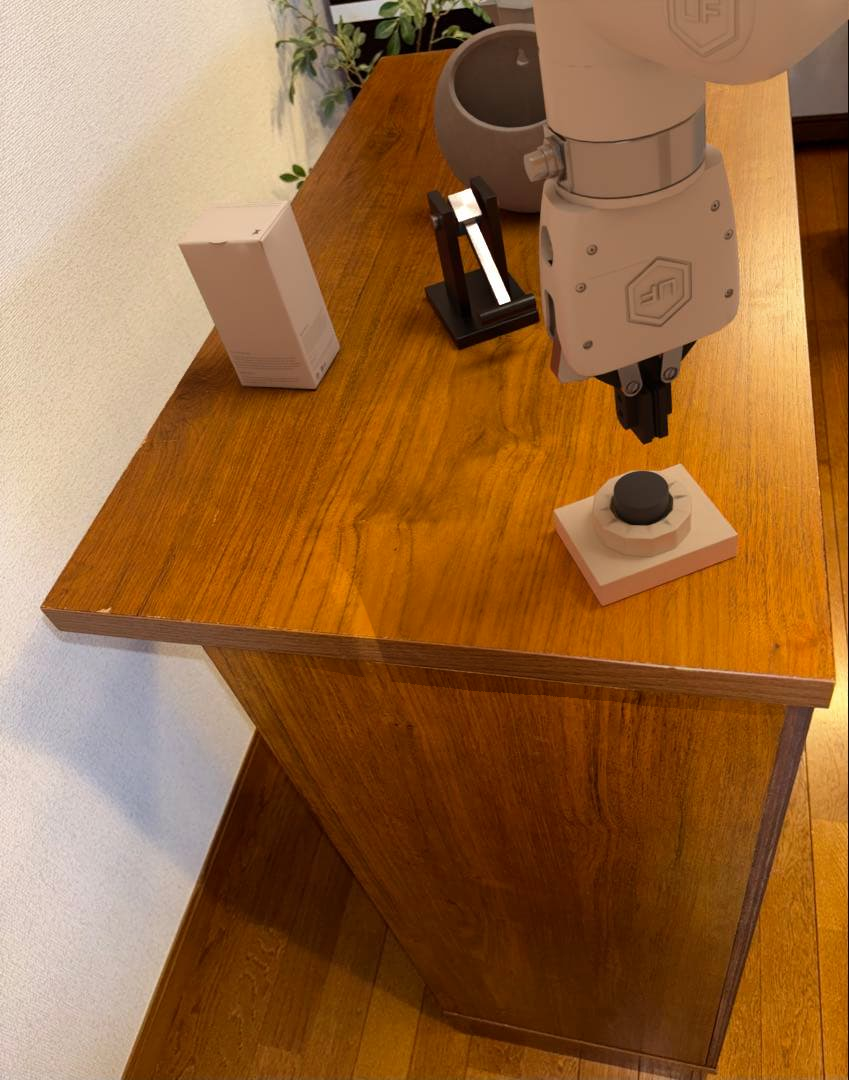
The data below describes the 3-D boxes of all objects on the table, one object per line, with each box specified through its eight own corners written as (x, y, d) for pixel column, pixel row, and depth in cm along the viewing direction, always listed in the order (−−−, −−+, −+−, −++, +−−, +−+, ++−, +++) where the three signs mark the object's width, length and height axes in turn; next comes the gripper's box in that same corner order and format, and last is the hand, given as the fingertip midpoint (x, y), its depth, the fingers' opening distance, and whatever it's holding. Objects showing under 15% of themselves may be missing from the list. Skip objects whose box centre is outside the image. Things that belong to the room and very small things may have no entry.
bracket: (540, 321, 90) (525, 202, 81) (458, 350, 89) (435, 233, 81) (501, 271, 97) (484, 157, 88) (426, 297, 96) (401, 185, 88)
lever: (535, 313, 85) (538, 300, 82) (481, 332, 84) (482, 319, 82) (484, 198, 88) (485, 182, 85) (432, 216, 87) (432, 200, 85)
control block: (680, 484, 72) (680, 444, 70) (737, 556, 67) (739, 515, 64) (555, 530, 72) (550, 491, 69) (602, 607, 66) (598, 568, 63)
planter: (441, 229, 105) (405, 47, 91) (460, 195, 109) (428, 17, 96) (614, 228, 98) (603, 32, 85) (627, 192, 103) (618, 0, 89)
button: (653, 482, 68) (653, 463, 67) (678, 514, 66) (678, 496, 64) (606, 499, 68) (604, 481, 67) (629, 533, 65) (627, 515, 64)
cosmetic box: (342, 350, 93) (296, 197, 82) (315, 394, 89) (262, 240, 78) (265, 346, 96) (210, 198, 85) (235, 389, 92) (174, 240, 81)
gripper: (513, 224, 45) (557, 506, 58) (807, 120, 46) (787, 420, 59) (461, 165, 51) (512, 435, 63) (726, 73, 52) (723, 357, 64)
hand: (645, 427), depth 61 cm, fingers closed
